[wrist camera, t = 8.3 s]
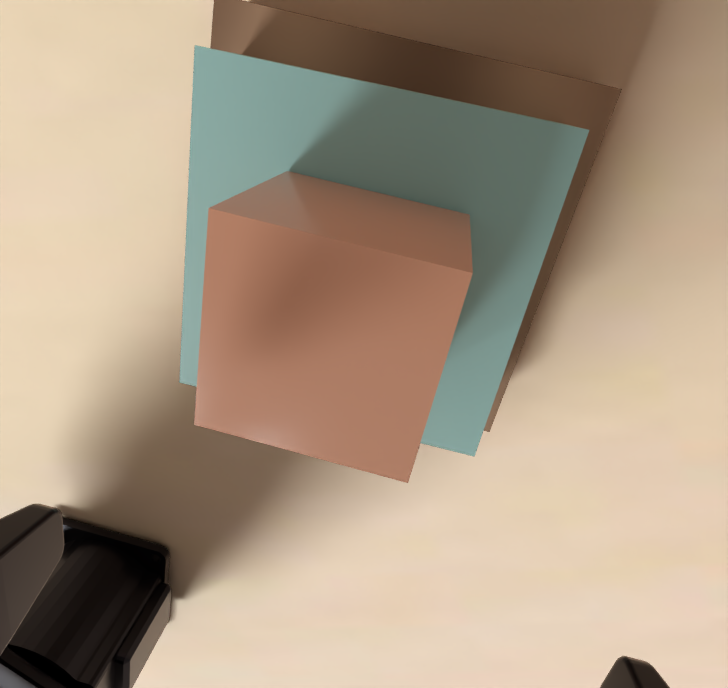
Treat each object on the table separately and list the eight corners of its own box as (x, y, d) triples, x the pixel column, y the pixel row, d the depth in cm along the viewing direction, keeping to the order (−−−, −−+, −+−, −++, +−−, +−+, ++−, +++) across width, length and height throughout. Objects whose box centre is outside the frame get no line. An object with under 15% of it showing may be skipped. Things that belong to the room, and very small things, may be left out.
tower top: (218, 341, 19) (179, 382, 16) (241, 54, 15) (194, 45, 12) (471, 403, 18) (474, 456, 16) (564, 123, 14) (589, 130, 12)
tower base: (220, 320, 22) (187, 351, 19) (252, 10, 17) (214, -6, 14) (484, 389, 21) (489, 432, 19) (594, 90, 17) (621, 89, 14)
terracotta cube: (265, 334, 15) (194, 424, 11) (287, 171, 13) (208, 207, 9) (423, 375, 15) (407, 482, 11) (469, 214, 13) (472, 272, 9)
